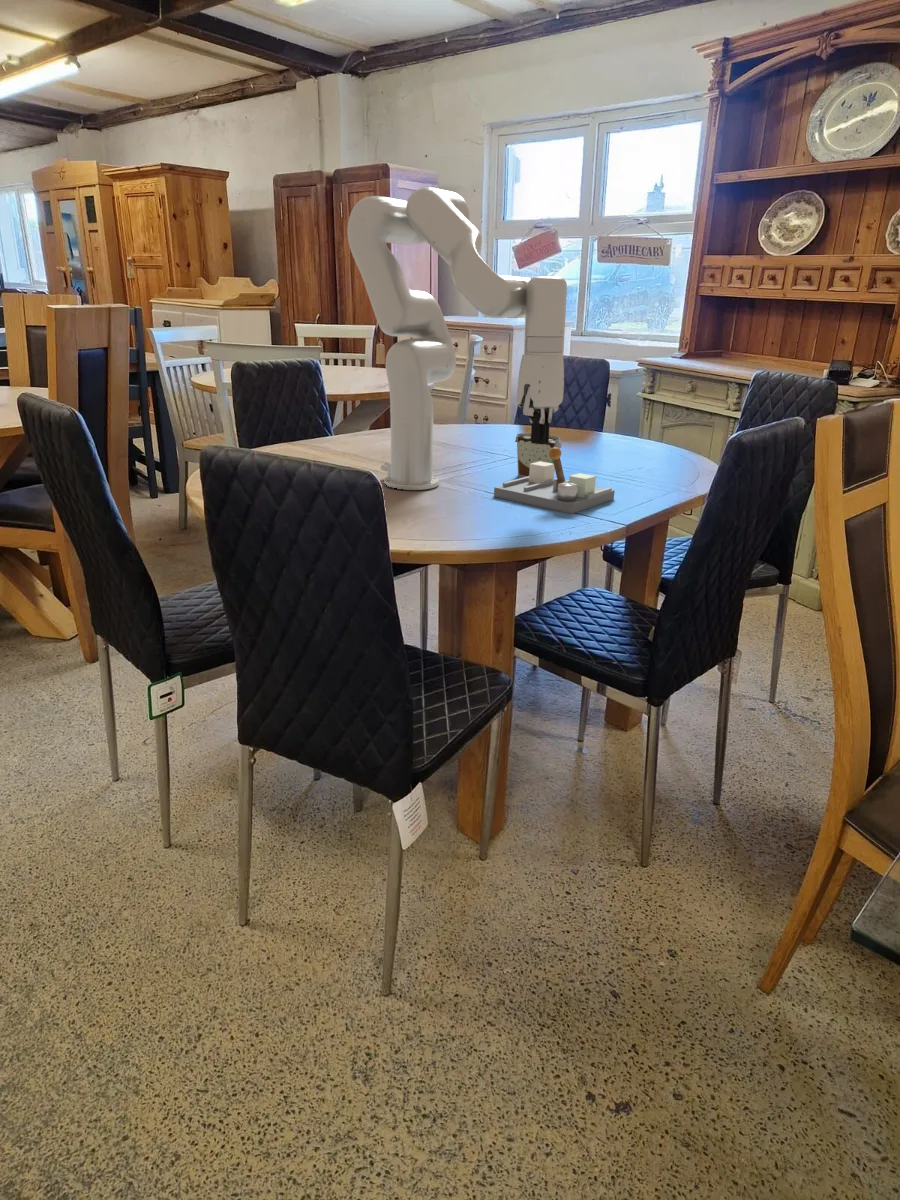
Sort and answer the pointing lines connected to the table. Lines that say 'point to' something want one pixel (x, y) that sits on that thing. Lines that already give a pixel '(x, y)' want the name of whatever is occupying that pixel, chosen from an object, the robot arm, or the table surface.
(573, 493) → the button
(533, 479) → the block
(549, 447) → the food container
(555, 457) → the lever
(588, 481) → the slider green
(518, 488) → the panel
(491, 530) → the table surface
